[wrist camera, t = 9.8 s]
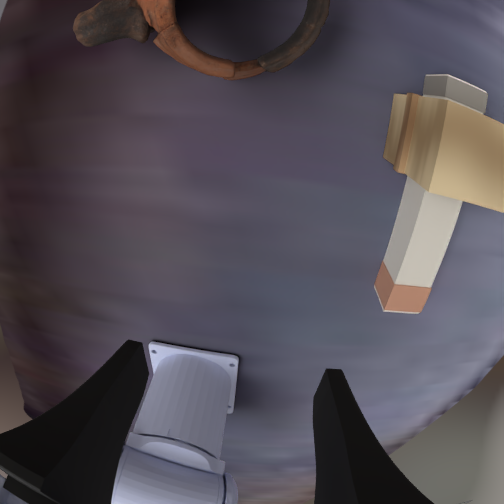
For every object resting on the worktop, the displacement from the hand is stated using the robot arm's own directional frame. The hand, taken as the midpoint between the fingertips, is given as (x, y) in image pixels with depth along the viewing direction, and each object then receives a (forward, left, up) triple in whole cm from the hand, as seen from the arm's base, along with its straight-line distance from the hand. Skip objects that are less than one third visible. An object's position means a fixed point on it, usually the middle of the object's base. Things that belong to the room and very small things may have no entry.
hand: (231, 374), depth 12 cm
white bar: (+5, -10, -11) cm, 16 cm away
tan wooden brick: (+9, -10, -10) cm, 17 cm away
